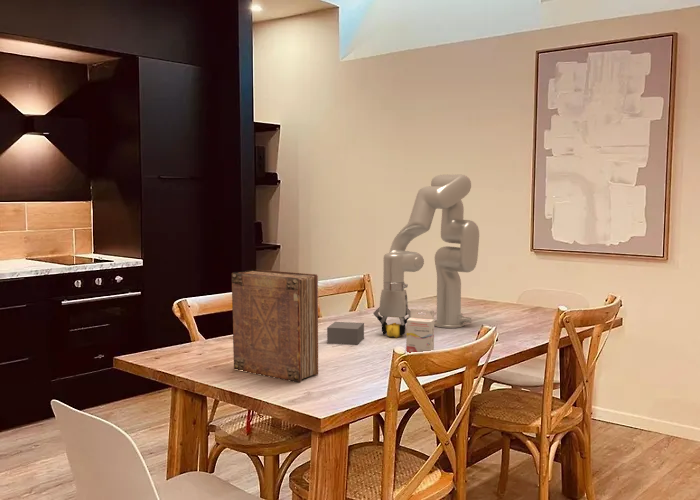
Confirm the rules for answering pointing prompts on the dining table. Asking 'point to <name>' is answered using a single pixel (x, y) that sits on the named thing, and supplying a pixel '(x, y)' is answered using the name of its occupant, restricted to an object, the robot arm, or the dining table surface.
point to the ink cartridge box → (420, 331)
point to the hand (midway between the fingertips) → (393, 334)
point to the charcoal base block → (345, 333)
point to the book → (275, 323)
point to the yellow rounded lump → (393, 330)
